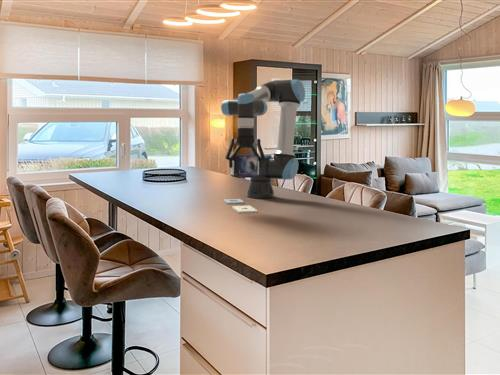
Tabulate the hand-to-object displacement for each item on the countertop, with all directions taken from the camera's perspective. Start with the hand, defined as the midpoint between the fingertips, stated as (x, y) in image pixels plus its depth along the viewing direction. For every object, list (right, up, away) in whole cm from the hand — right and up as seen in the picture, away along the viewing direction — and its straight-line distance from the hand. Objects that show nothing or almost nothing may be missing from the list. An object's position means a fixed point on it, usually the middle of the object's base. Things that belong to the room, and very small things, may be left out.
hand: (245, 174), depth 222 cm
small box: (0, -1, 0) cm, 1 cm away
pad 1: (-6, -14, +24) cm, 28 cm away
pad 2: (0, -17, +2) cm, 17 cm away
